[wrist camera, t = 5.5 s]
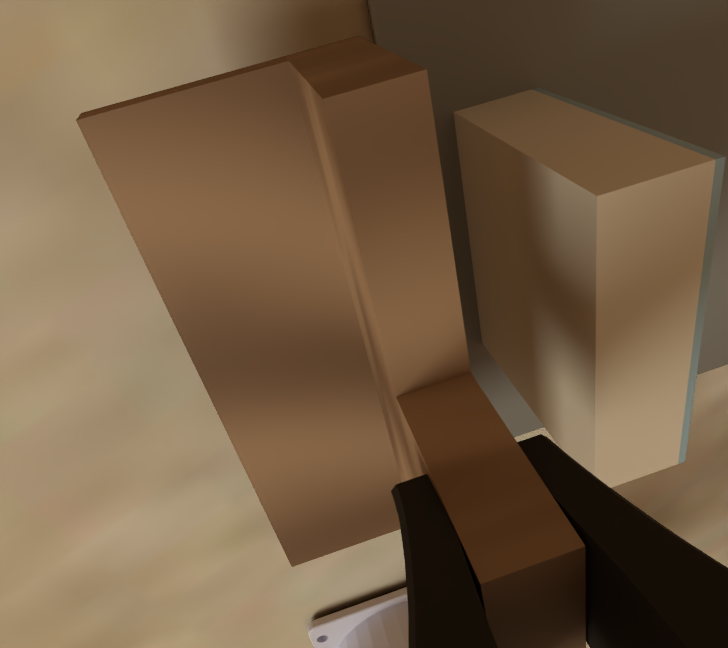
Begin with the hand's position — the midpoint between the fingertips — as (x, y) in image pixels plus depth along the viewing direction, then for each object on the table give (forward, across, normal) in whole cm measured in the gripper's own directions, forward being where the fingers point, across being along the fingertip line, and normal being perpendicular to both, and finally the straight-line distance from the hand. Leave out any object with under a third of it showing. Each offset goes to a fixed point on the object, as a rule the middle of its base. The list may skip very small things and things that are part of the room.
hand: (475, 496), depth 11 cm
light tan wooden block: (+9, -5, 0) cm, 10 cm away
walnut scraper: (+6, +2, 0) cm, 6 cm away
